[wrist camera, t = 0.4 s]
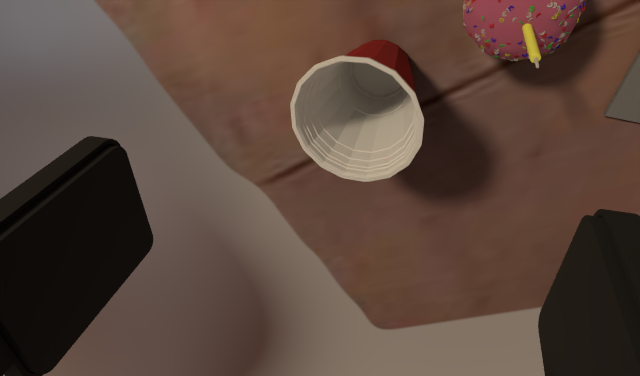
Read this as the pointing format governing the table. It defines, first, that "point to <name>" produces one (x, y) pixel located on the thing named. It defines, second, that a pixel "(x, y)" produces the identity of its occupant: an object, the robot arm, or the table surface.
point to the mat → (627, 96)
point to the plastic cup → (360, 113)
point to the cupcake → (521, 26)
